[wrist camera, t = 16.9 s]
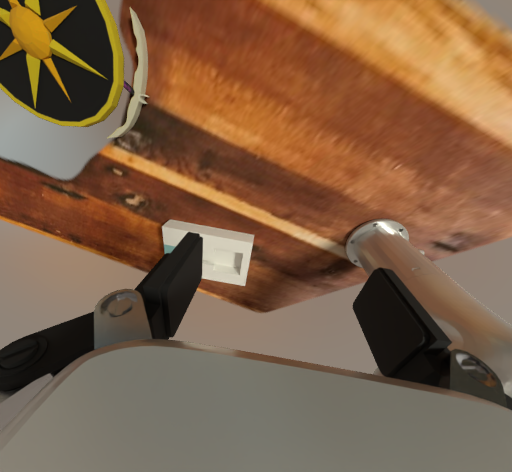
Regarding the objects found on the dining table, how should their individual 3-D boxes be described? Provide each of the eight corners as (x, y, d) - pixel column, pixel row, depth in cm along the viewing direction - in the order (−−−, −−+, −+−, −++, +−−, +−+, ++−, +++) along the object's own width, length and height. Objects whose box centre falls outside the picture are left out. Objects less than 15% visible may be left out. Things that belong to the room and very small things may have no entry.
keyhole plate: (254, 235, 44) (252, 243, 41) (246, 276, 51) (244, 286, 48) (169, 219, 44) (161, 226, 41) (173, 262, 51) (166, 271, 48)
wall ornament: (-187, -249, 17) (152, -3, 24) (-90, -170, 21) (170, 16, 28) (-91, 58, 28) (123, 164, 35) (-41, 66, 32) (139, 159, 39)
